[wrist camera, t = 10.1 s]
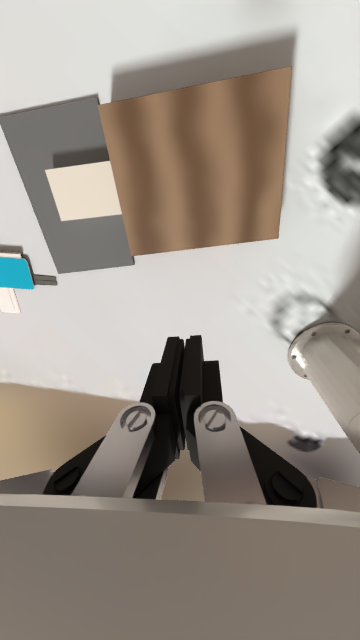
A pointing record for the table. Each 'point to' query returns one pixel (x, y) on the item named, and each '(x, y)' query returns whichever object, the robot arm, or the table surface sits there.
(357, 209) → the table surface
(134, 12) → the table surface
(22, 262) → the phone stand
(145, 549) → the robot arm
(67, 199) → the cream flat block
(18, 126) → the mat
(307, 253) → the table surface
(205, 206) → the platform
